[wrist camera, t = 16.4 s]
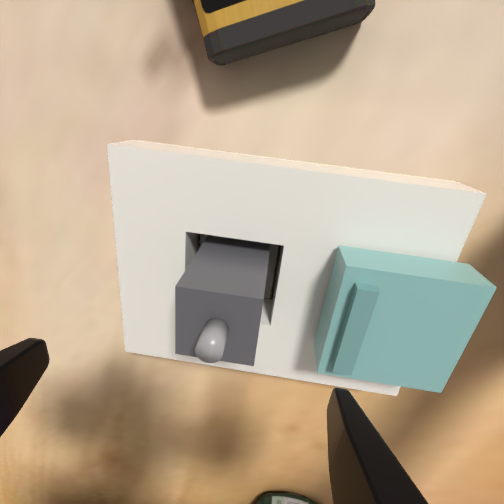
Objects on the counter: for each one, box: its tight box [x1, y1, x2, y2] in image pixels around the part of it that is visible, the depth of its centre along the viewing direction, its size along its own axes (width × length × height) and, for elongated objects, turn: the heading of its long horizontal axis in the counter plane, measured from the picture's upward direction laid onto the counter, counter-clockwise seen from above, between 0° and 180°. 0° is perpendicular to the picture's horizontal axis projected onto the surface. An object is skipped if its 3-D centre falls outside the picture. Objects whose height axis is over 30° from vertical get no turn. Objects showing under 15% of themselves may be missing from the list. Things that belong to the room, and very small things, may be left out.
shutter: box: [314, 245, 497, 393], centre depth 16 cm, size 7×7×3 cm
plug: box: [175, 235, 270, 366], centre depth 17 cm, size 4×4×9 cm
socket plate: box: [107, 139, 486, 396], centre depth 20 cm, size 19×14×3 cm
